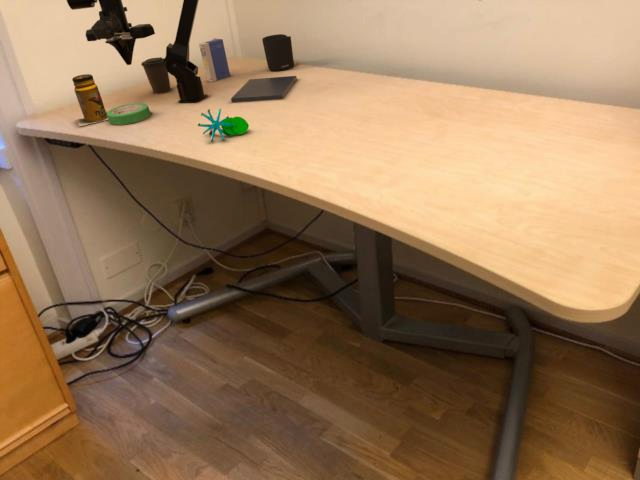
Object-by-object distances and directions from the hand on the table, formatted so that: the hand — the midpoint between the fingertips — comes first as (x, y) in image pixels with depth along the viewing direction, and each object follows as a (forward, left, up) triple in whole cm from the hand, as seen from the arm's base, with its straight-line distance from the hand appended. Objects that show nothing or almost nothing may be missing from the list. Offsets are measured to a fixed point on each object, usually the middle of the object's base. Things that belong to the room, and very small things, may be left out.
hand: (129, 64), depth 166 cm
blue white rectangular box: (-10, -30, -12) cm, 34 cm away
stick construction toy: (-40, +25, -12) cm, 49 cm away
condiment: (+8, +12, -12) cm, 19 cm away
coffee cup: (+3, -16, -12) cm, 20 cm away
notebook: (-34, -14, -12) cm, 39 cm away
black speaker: (-28, -41, -12) cm, 51 cm away
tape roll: (-4, +11, -12) cm, 17 cm away
